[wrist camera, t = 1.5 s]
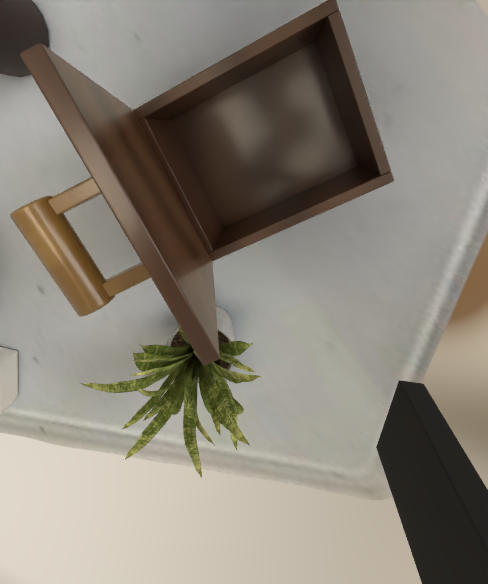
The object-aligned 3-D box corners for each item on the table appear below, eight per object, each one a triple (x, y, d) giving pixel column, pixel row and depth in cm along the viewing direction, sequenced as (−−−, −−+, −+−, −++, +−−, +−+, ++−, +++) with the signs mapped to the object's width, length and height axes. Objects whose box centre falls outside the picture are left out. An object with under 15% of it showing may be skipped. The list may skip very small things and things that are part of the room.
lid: (40, 41, 12) (-99, 116, 12) (220, 359, 16) (113, 409, 17) (132, 109, 28) (69, 141, 28) (212, 262, 32) (157, 289, 32)
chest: (318, 28, 33) (334, -5, 25) (367, 169, 37) (394, 181, 29) (161, 115, 36) (129, 111, 28) (221, 236, 40) (209, 262, 32)
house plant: (133, 366, 47) (70, 477, 32) (140, 259, 42) (68, 333, 27) (249, 386, 47) (239, 506, 32) (271, 283, 42) (271, 369, 27)
